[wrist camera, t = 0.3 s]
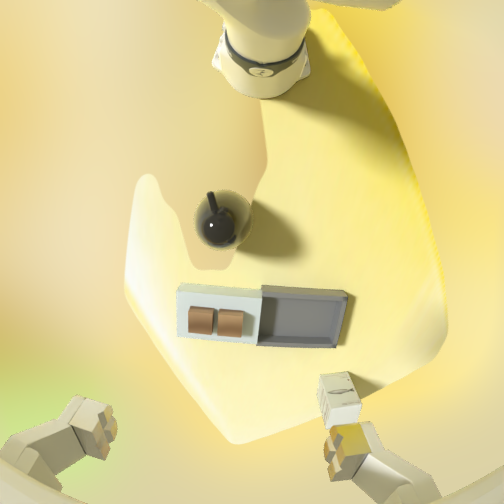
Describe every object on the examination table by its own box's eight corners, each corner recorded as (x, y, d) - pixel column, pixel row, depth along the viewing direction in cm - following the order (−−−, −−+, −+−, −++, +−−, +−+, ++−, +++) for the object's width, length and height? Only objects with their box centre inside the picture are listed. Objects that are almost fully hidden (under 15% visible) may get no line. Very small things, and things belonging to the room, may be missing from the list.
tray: (261, 284, 57) (262, 291, 54) (342, 290, 57) (348, 296, 54) (255, 336, 60) (256, 345, 56) (331, 339, 60) (336, 348, 57)
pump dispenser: (247, 182, 52) (246, 183, 37) (257, 237, 55) (261, 258, 40) (193, 194, 52) (172, 200, 38) (205, 247, 55) (190, 272, 40)
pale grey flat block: (181, 282, 57) (176, 290, 52) (261, 289, 57) (262, 298, 53) (181, 325, 59) (177, 336, 55) (256, 332, 60) (256, 344, 55)
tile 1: (190, 305, 53) (188, 311, 51) (214, 308, 53) (212, 313, 51) (190, 326, 54) (188, 332, 52) (213, 328, 54) (211, 335, 52)
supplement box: (348, 370, 63) (364, 404, 51) (343, 392, 65) (356, 426, 52) (319, 373, 63) (330, 408, 50) (315, 395, 65) (325, 430, 52)
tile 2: (219, 308, 53) (218, 314, 51) (243, 310, 53) (243, 316, 51) (218, 329, 54) (217, 335, 52) (241, 331, 54) (241, 337, 52)
